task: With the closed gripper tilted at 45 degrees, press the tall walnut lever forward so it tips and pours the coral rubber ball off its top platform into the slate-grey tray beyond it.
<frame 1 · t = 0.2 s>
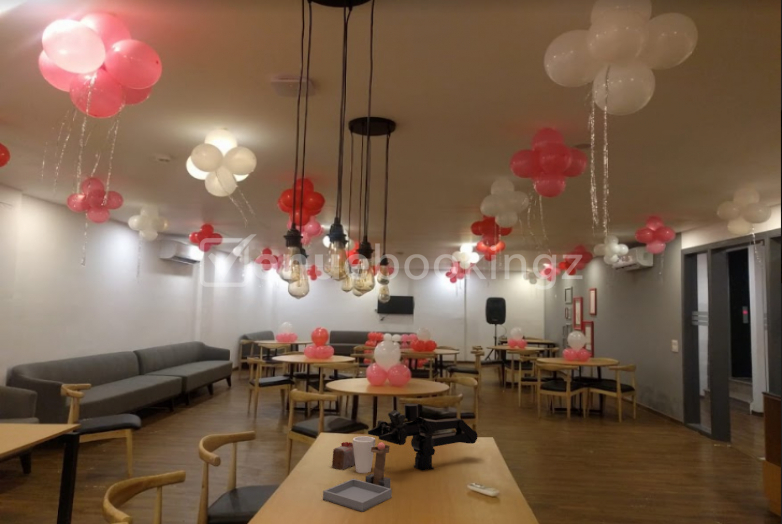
hand: (373, 435, 216), 17 cm above the table, tool horizontal, fingers open, 9 cm apart
lever stand: (377, 489, 201), on the table
lever: (378, 466, 202), point 8 cm above the table, hinge at -8.0°, touching ball
ball: (381, 446, 204), point 16 cm above the table, tilted 11°, touching lever
foam cup: (363, 471, 222), on the table
tray: (357, 498, 191), on the table
food item: (346, 465, 230), on the table
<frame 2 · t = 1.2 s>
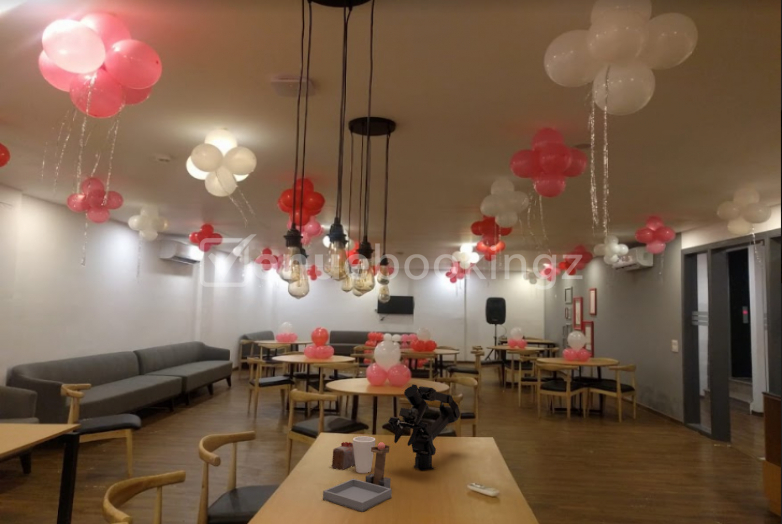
hand: (401, 443, 215), 14 cm above the table, tool tilted 45°, fingers open, 6 cm apart
nothing on the table moved.
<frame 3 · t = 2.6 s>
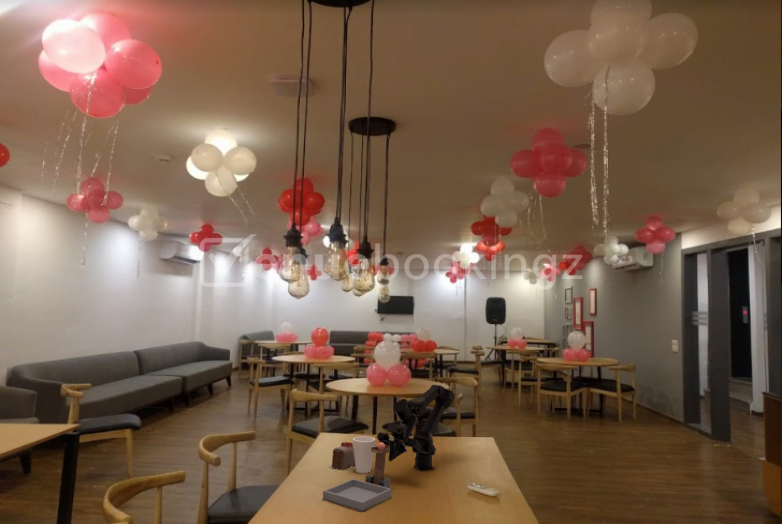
hand: (389, 460, 208), 9 cm above the table, tool tilted 45°, fingers closed
nothing on the table moved.
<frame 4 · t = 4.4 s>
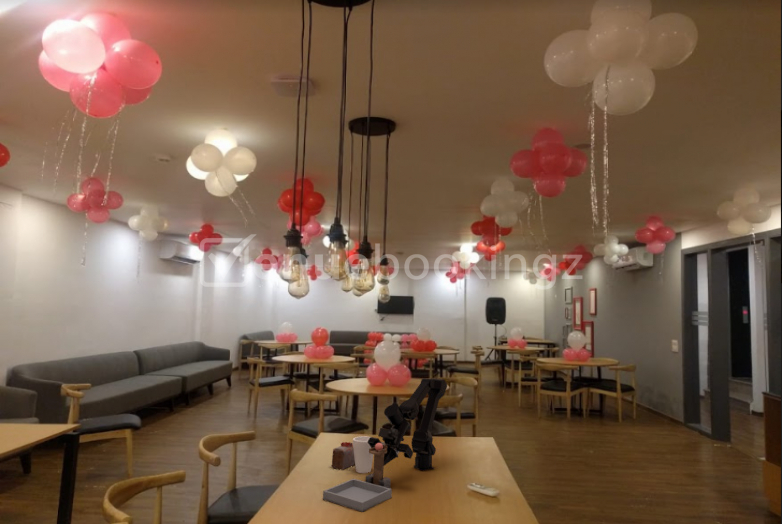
hand: (380, 466, 203), 8 cm above the table, tool tilted 45°, fingers closed, pressing on lever
lever: (377, 466, 201), point 8 cm above the table, hinge at -2.0°, touching ball, gripper
ball: (379, 447, 202), point 16 cm above the table, tilted 8°, touching lever
everything else where it was.
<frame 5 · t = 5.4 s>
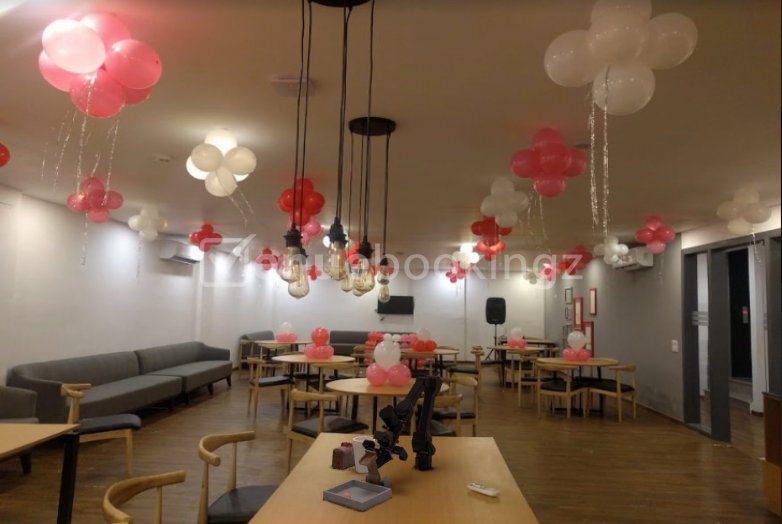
hand: (375, 469, 200), 8 cm above the table, tool tilted 45°, fingers closed, pressing on lever
lever: (372, 471, 198), point 7 cm above the table, hinge at 26.9°, touching gripper
ball: (346, 497, 186), point 2 cm above the table, tilted 133°, touching tray
everything else where it was.
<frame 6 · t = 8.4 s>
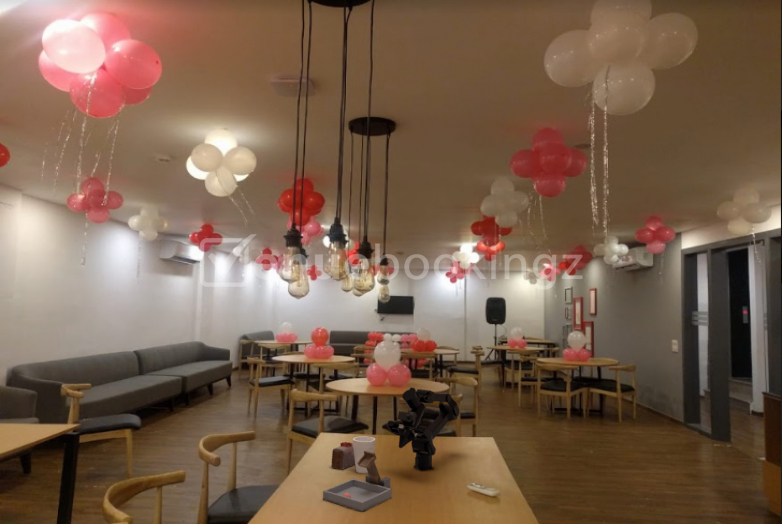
hand: (399, 447, 214), 12 cm above the table, tool tilted 45°, fingers closed
lever: (371, 472, 198), point 7 cm above the table, hinge at 30.0°
everything else where it was.
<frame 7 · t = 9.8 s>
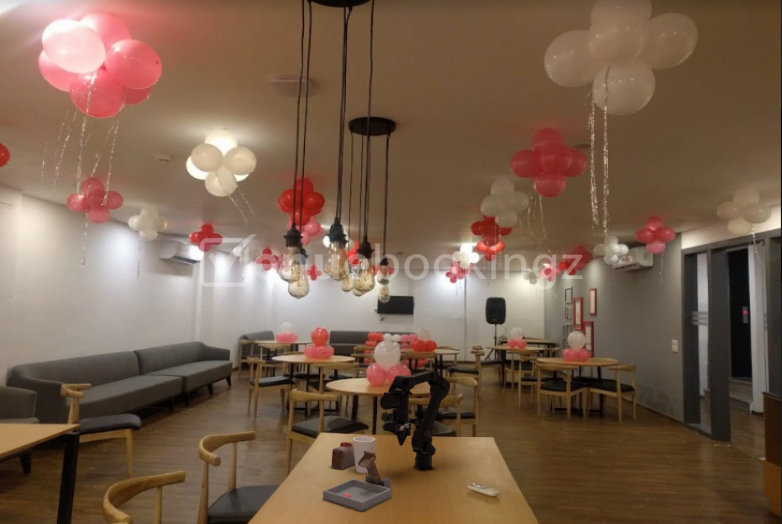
hand: (401, 445, 218), 12 cm above the table, tool pointing down, fingers closed
nothing on the table moved.
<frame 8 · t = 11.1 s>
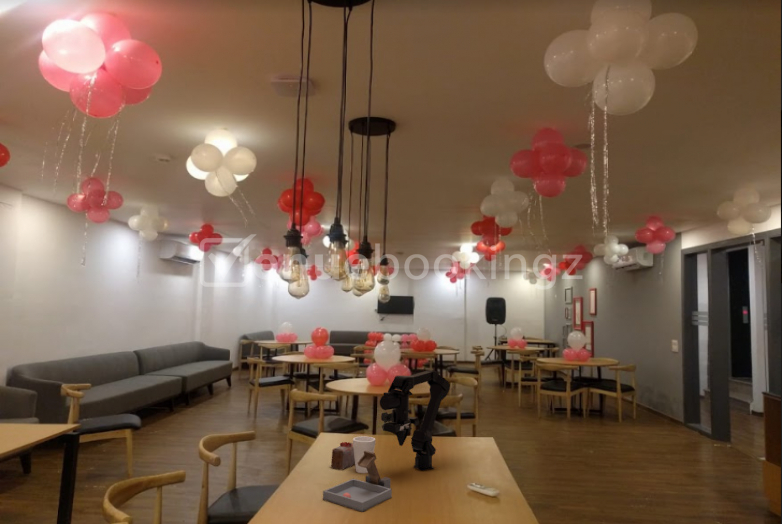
hand: (401, 445, 218), 12 cm above the table, tool pointing down, fingers closed
nothing on the table moved.
at the end: ball 6.2 cm from the tray (horizontally); ball point 2.1 cm above the table; lever at +30° (first picture: -8°) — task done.
